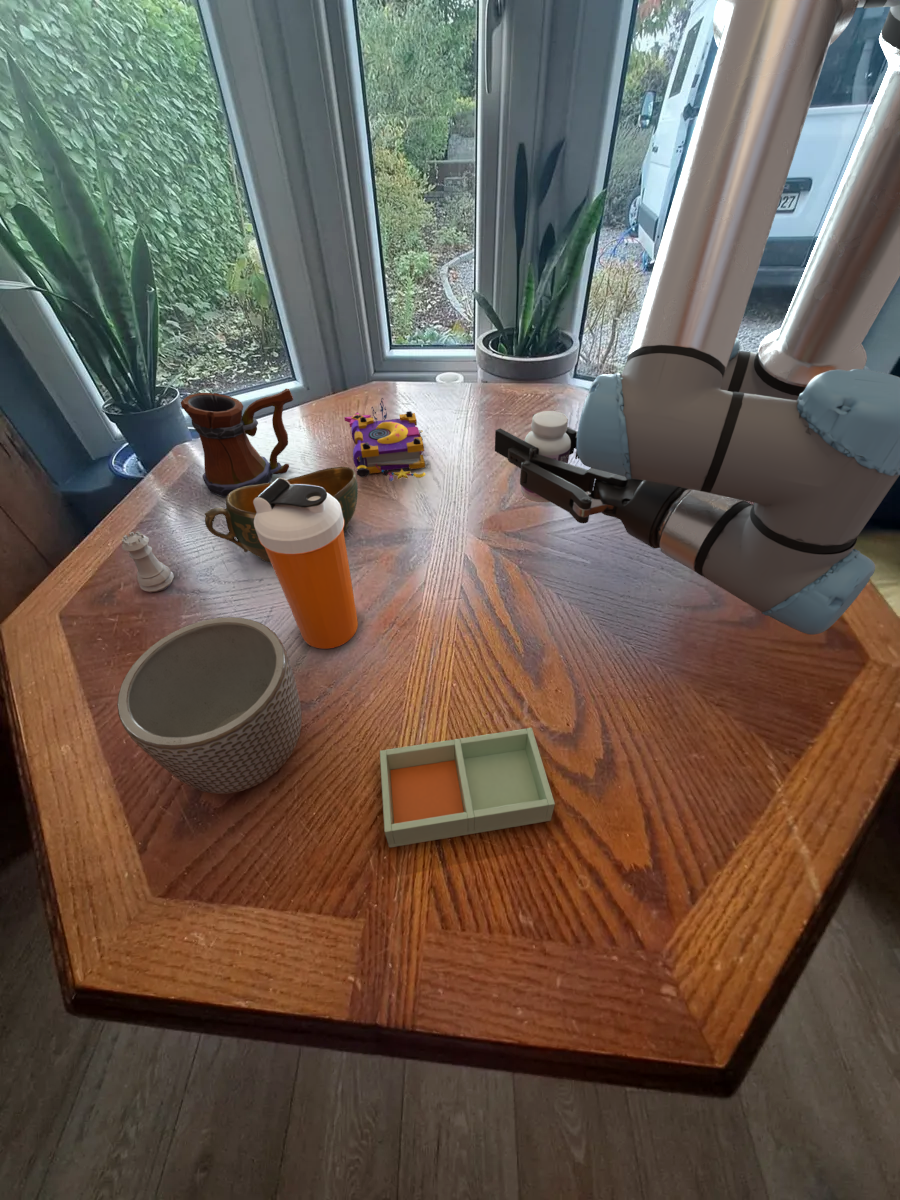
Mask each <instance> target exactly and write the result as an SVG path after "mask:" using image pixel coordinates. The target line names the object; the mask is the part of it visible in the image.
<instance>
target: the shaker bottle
mask: <svg viewBox="0 0 900 1200" xmlns="http://www.w3.org/2000/svg"><path fill="white" fill-rule="evenodd" d="M270 483H271V484H270V485H269V486H268V487H267V488H266V489H265V490H264V491H262V492H261V493H260V494H259V495H258V496H257V497H256V498H255V499H254V501H253V503H254V506H255V509H256V512H257V513H256V515H255V518H254V527H255V530H256V532H257V535H258V539H259V541H260V543H261V545H263V546H264V547H265V550H266V552H267V554H268V557H269V559H270V561H271V563H270V564H271V566H272V568H273V571H274V574H275V575H276V578H277V581H278V582H279V585H280V587H281V590H282V592H283V594H284V597H285V599H286V602H287V604H288V606H289V608H290V609H289V610H290V611H291V613H292V616H293V618H294V621H295V623H296V626H297V628H298V630H299V633H300V635H301V638H302V639H303V641H304V642H305V643H306V644H307V645H309V646H310V647H313V648H315V649H321V650H322V649H323V650H329V649H333V648H334V649H335V648H338V647H340V646H342V645H345V644H346V643H347V642H349V641H350V640H351V639H353V637H354V636H355V634H356V633H357V630H358V626H359V622H358V621H359V620H358V614H357V607H356V601H355V595H354V589H353V582H352V575H351V570H350V563H349V557H348V551H347V550H348V549H347V545H346V538H345V532H344V531H343V528H344V518H343V514H342V510H341V506H340V503H339V502H338V501H337V499H335V498H334V497H333V496H331V495H330V494H329V493H327V492H326V490H325V489H324V488H322V487H319V486H313V485H304V484H290V483H289V482H288V481H287V479H285V478H283V477H277V478H276V479H274V480H273V482H272V481H271V482H270Z"/></svg>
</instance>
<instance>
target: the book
mask: <svg viewBox="0 0 900 1200" xmlns="http://www.w3.org/2000/svg"><path fill="white" fill-rule="evenodd" d="M375 402H376V401H375ZM379 405H380V408H381V409H380V412H381V417H382V419H381V420H378V417H376V416H375V414H376V415H377V411H375V408H374V406H371V409H370V410H372V415H371V414H361V413H359V412H355V414H354V415H352V416H351V415H350V416H344V417H343V419H344V422H346V423H349V428H350V431H351V439H352V441H353V443H354V444H355V445H354V447H353V450H352V457H353V464H354V467H355V468H356V476H359V477H360V478H367V477H368V476H370V475H371V474H377V473H383V474H382V475H384V476H386V477H387V476H388V475H389V477H388V480H389V482H393V481H394V479H395V478H394V476H396V477H397V480H400V479H402V478H404V479H407V480H408V479H409V476H412V477H415V478H417V479H420V478H424V477H425V476H426V475H427V473H426V472H424V471H423V472H422V473H416V472H414V473H411V470H415V469H425V468H426V462H425V458H424V454H422V452H424V451H425V445H424V440H423V439H424V438H423V437H422V435H421V434H422V433H423V430H421V429H420V430H419V427H418V422H417V416H416V413H415V412H412V411H406V413H400V414H399V418H394V419H393V418H392V419H387V416H388V413H387V412H386V411H387V409H386V407H384V398H383V397H381V399H380V403H379ZM384 411H385V412H384ZM372 416H373V417H372ZM407 468H409V470H408V471H406V470H405V471H404V470H403V469H407ZM391 470H400V471H397V472H396V471H395V472H390V471H391Z"/></svg>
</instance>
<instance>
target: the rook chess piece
mask: <svg viewBox="0 0 900 1200" xmlns="http://www.w3.org/2000/svg"><path fill="white" fill-rule="evenodd" d="M128 534H129V536H128V535H126V534H124V535H123V536H122V539H121V542H122V544H121V549H122V550H123V551H126V552H127V553H128V555H129V558H130V559H132V560H133V562H134V564H135V566H136V569H137V571H136V574H137V576H136V579H137V584H139V587H140V589H141V590H143V591H145V592H149V593H157V592H161V591H164V590H165V589H167V588H168V587H170V585H171V584H172V583H173V580H174V578H175V575H174V573H173V572H172V570H171V568H170V567H169V566H167V565H166V564H165V563H163V562H161V561H159V559H158V558H157V556H156V555H155V554H154V552H153V548H152V546H150V545H149V542H150V538H149V537H148V536H147V535H145V534H143V532H141V531H136V532H135V533H134V531H130V532H128Z"/></svg>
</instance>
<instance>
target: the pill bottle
mask: <svg viewBox="0 0 900 1200" xmlns="http://www.w3.org/2000/svg"><path fill="white" fill-rule="evenodd" d="M534 414H535V415H534ZM534 414H533V415H534V416H533V415H532V418H531V425H530V428H531V430H532V431H531V430H530V431H529V432H528V433H527V434H526V436H525V438H524V439H523V441H525V442H527V443H529V444H531V445H533V446H535V447H537V448H539V455H542V456H546V457H549V458H552V459H555V460H558V461H561V462H564V463H568V464H569V459H570V455H569V454H570V448H571V440H570V438H569V436H568V434H567V433H566V431H567V427H568V426H569V425H568V424H569V418H568V416H566V414H564V413H562V412H559V411H554V410H544V411H539V412H536V413H534ZM520 493H521V495H523V497H524V498H526V499H528V500H530V501H532V502H535V503H551V502H550V501H548V500H546V499H544V498H543V497H541V496H539V495H537V494H536V493H534V492H532V491H530V490H528V489H527V488H525V487H523V486H521V485H520Z"/></svg>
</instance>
